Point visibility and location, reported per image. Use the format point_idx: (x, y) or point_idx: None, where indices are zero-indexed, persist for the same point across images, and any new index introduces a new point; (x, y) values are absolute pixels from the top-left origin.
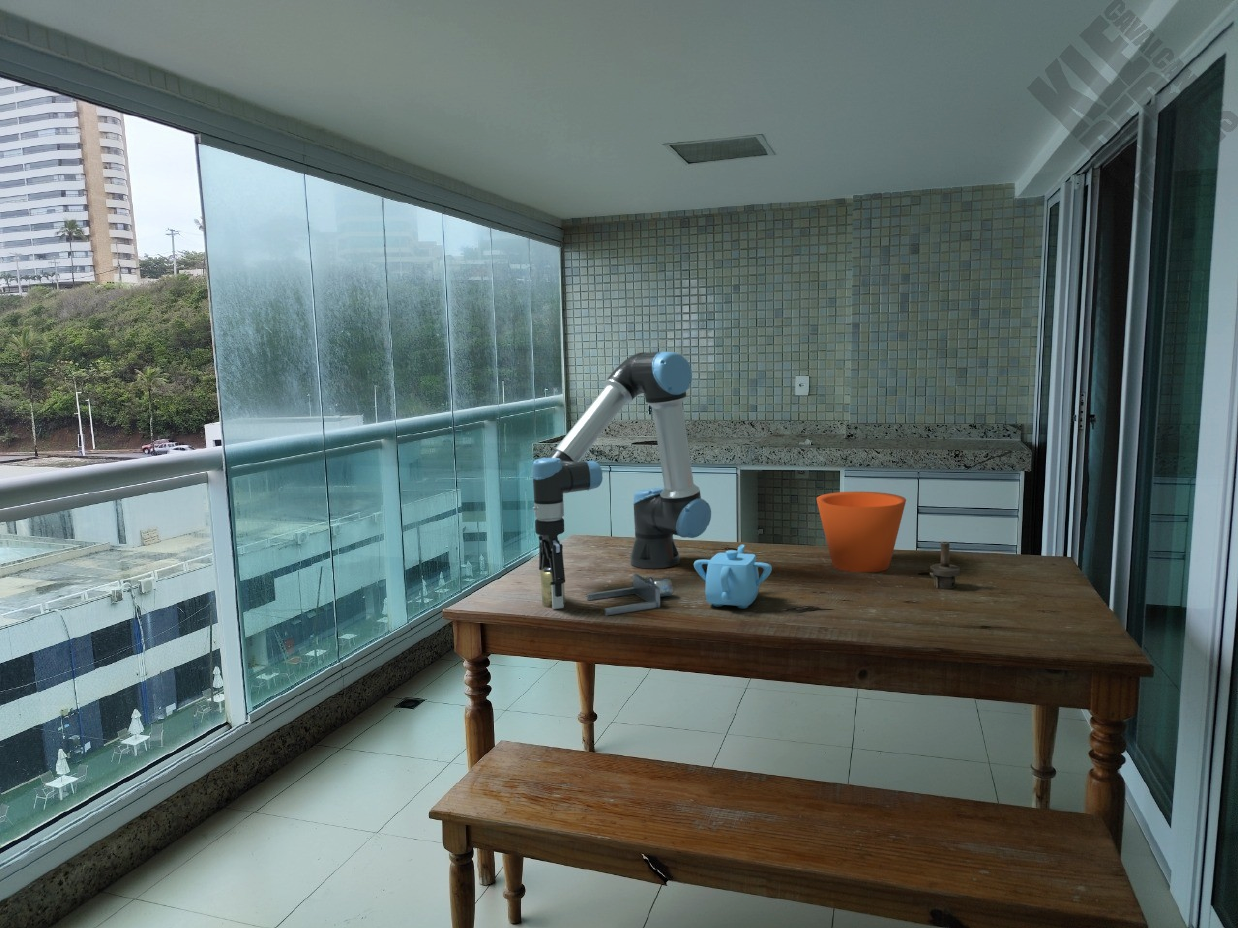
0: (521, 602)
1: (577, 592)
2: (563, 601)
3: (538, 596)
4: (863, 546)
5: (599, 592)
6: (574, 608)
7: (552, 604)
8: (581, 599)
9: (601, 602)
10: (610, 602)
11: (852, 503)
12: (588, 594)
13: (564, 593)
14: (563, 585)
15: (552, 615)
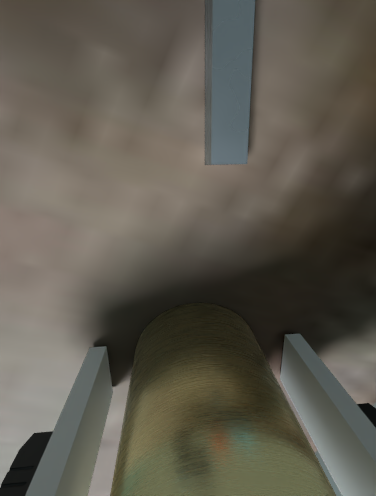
0: (105, 468)
1: (6, 174)
2: (248, 330)
3: (27, 399)
4: None
5: (225, 36)
6: (329, 282)
7: (291, 396)
8: (187, 198)
9: (320, 87)
10: (359, 18)
11: None
12: (232, 154)
13: (243, 349)
14: (281, 413)
15: (360, 389)
